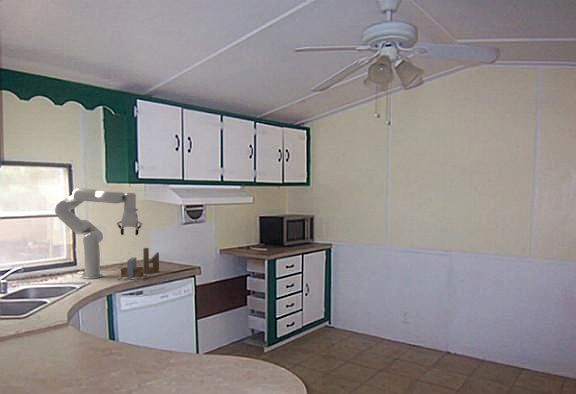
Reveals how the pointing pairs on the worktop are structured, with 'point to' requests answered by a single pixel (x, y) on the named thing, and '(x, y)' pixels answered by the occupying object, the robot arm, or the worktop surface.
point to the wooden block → (153, 260)
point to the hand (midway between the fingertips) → (129, 234)
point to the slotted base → (137, 274)
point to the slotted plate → (131, 267)
